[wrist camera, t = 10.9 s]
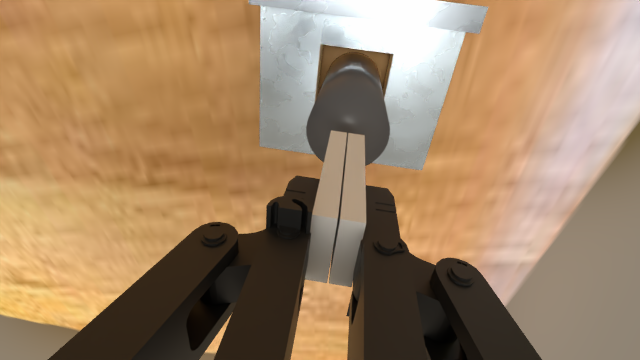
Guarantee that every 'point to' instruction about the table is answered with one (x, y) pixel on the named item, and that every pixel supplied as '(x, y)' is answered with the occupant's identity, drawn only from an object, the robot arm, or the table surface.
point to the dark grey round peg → (350, 106)
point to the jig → (365, 34)
